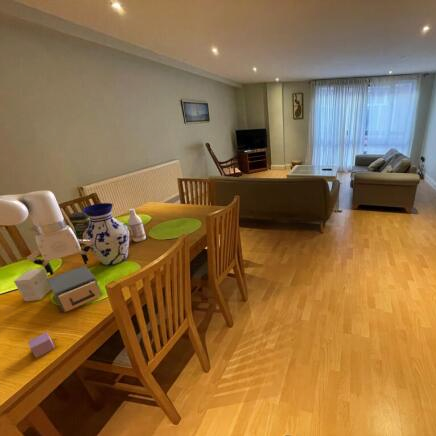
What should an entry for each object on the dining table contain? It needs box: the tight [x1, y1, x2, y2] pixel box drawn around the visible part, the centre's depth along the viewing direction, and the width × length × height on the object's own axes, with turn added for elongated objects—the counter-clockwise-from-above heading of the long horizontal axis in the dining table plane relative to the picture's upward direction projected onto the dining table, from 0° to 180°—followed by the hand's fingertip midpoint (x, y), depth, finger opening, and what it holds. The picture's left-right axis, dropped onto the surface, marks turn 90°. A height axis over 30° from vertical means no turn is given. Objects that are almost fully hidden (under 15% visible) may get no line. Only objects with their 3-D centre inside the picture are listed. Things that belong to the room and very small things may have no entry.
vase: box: [81, 202, 131, 266], centre depth 122 cm, size 19×19×30 cm
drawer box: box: [47, 264, 103, 313], centre depth 100 cm, size 15×13×9 cm
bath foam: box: [127, 208, 147, 243], centre depth 145 cm, size 7×7×20 cm
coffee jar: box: [68, 211, 90, 239], centre depth 145 cm, size 10×8×19 cm
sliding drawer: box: [58, 281, 102, 313], centre depth 97 cm, size 18×11×7 cm, turn 52°
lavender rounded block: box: [28, 331, 55, 359], centre depth 77 cm, size 4×4×4 cm
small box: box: [13, 268, 52, 302], centre depth 100 cm, size 8×6×10 cm
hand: (69, 267), depth 90 cm, fingers open, 9 cm apart
